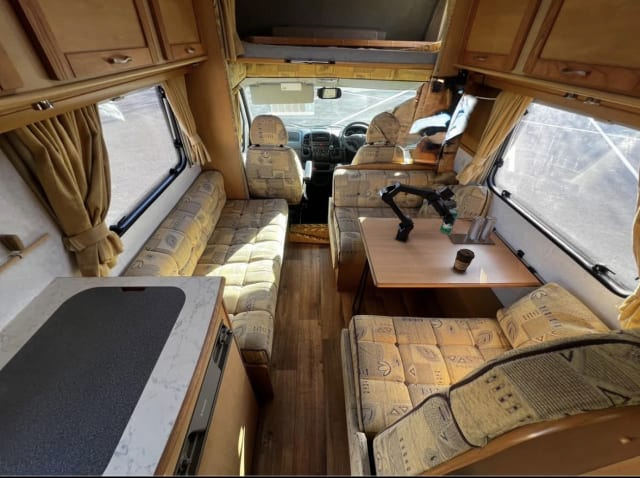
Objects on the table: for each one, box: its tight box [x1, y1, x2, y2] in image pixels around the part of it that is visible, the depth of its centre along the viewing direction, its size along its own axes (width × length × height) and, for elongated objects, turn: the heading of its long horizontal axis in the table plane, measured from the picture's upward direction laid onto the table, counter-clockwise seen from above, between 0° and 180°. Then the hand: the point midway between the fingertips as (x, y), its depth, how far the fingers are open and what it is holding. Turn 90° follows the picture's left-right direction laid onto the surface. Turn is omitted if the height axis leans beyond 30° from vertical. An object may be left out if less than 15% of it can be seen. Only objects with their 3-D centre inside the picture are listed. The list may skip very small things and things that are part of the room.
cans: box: [466, 215, 498, 241], centre depth 161 cm, size 14×6×15 cm, turn 89°
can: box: [439, 208, 460, 236], centre depth 159 cm, size 6×6×15 cm
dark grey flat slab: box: [448, 233, 496, 246], centre depth 166 cm, size 25×10×1 cm, turn 89°
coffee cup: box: [452, 248, 476, 275], centre depth 138 cm, size 9×8×13 cm
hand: (450, 221), depth 159 cm, fingers closed on can, 6 cm apart
